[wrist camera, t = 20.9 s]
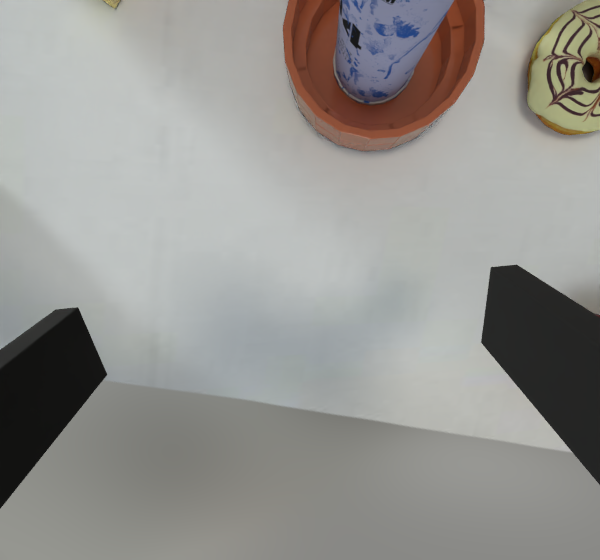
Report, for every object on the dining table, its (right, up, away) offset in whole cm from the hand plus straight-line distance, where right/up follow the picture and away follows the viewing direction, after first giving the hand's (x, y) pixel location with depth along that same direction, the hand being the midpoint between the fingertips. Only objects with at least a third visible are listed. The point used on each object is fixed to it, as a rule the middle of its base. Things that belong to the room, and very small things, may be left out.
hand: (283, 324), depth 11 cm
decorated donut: (+27, +21, +22) cm, 40 cm away
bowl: (+8, +23, +22) cm, 33 cm away
